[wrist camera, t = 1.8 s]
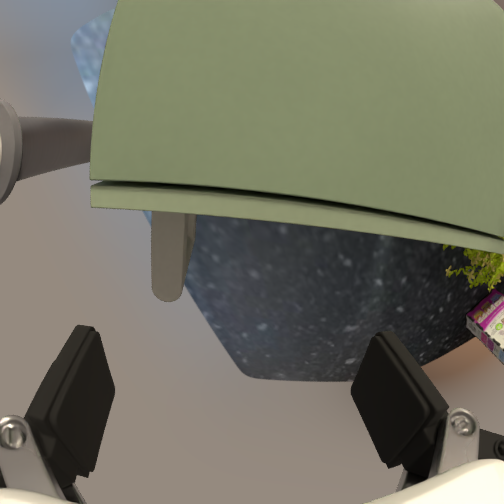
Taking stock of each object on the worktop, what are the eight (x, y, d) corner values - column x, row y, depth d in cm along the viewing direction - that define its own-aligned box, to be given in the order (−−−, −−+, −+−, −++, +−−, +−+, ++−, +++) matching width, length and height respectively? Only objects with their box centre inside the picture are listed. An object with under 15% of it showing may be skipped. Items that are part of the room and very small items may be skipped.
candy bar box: (465, 328, 51) (505, 369, 36) (464, 314, 49) (508, 356, 34) (494, 301, 50) (536, 336, 35) (495, 286, 48) (539, 321, 33)
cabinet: (372, 181, 37) (512, 240, 14) (175, 154, 33) (89, 180, 11) (386, 63, 30) (522, 29, 8) (195, 23, 27) (167, -105, 4)
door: (360, 237, 40) (473, 334, 17) (170, 218, 36) (103, 335, 14) (372, 183, 37) (510, 242, 14) (175, 156, 33) (90, 185, 11)
